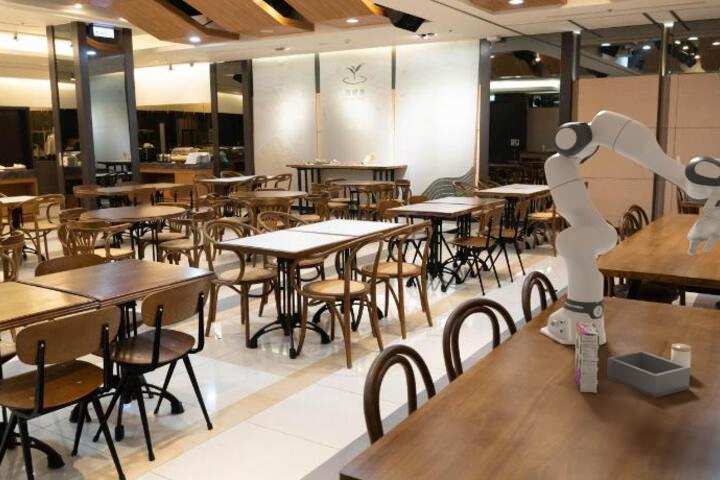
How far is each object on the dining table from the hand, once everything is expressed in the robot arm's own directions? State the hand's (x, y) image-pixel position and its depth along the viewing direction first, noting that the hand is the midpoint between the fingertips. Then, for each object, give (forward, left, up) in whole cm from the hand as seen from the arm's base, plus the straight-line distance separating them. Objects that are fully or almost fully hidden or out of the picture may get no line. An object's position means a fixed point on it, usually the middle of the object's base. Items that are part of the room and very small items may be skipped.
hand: (697, 252), depth 185 cm
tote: (+3, -22, -34) cm, 40 cm away
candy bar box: (-4, -37, -34) cm, 51 cm away
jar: (+2, -7, -34) cm, 35 cm away
